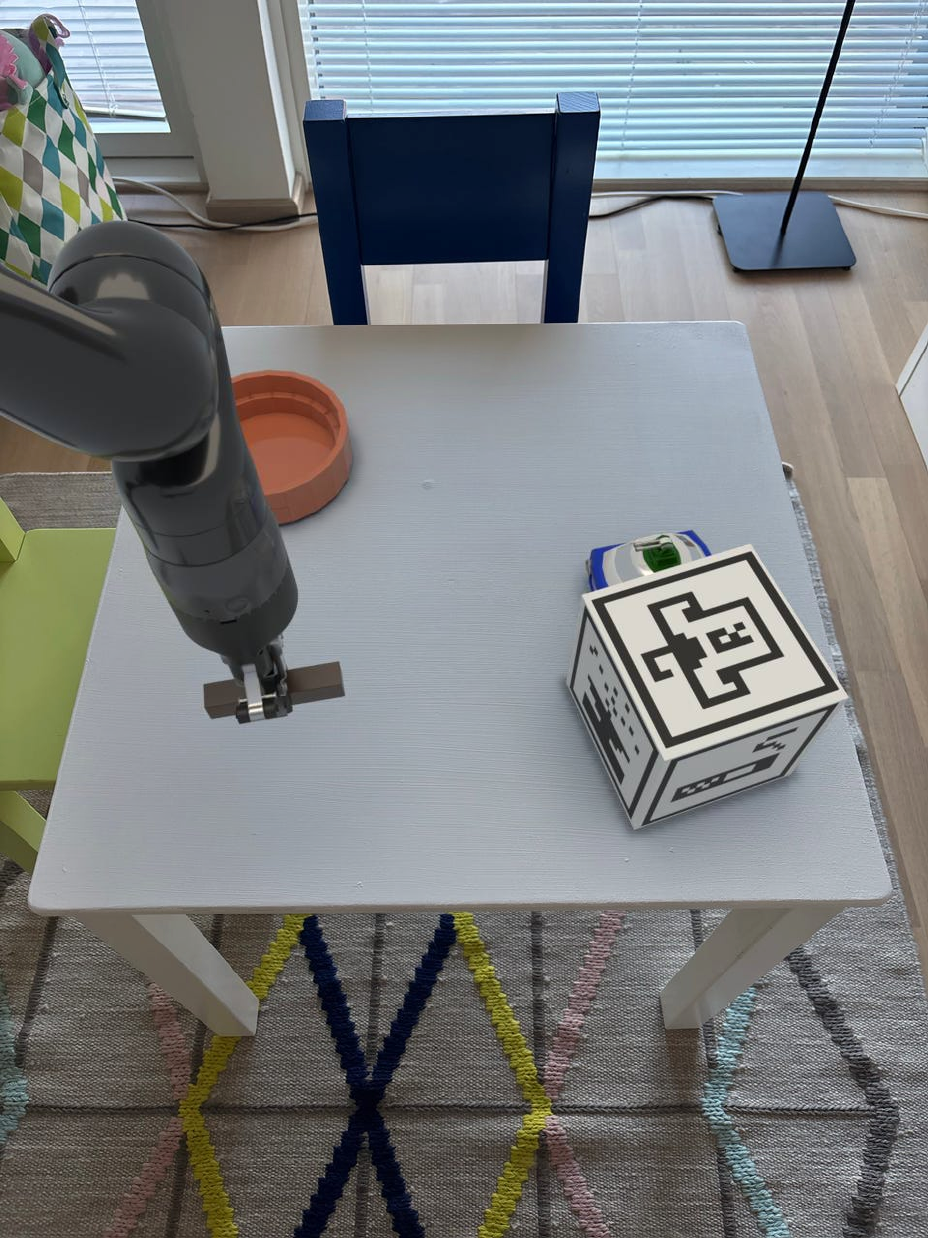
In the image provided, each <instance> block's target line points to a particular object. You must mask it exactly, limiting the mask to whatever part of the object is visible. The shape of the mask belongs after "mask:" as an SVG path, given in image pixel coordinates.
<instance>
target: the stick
mask: <svg viewBox="0 0 928 1238" xmlns="http://www.w3.org/2000/svg"><path fill="white" fill-rule="evenodd" d="M341 667H342V666H341V663H340V661H339V660H338V661H330V662H325V663H320V664H319V663H318V664H314V665H313V664H312V665H308V666H302V667H297V668H291V669H288V670H286V673H287V677H286V678H285V679H284V681H285V683H287V688H288V693H289V696H290V699H291V701H292V706H297V705H298V706H299V705H302V704H304V705H305V704H309V703H315V702H320V701H321V702H322V701H326V700H332V699H338V698H343V697H346V689H345V684H344V675H343V672H342V668H341ZM202 686H203V707H204V709H205V712H206V713H207V715H208V717H209V719H210V720H216V719H221V718H227V717H233V716H235V711H236V706H237V705H239V703H238V698H240V697H246V691H245V687H240V686H238V685H236V682H235V680H234V678H231V679H225V680H219V681H213V682H207V683H203V684H202Z"/></svg>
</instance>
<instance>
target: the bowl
mask: <svg viewBox="0 0 928 1238" xmlns="http://www.w3.org/2000/svg"><path fill="white" fill-rule="evenodd" d="M231 380H232V385H233V391H234V397H235V403H236V409H237V414H238V417H239V421H240V424H241V427H242V431H243V434H244V437H245V440H246V442H247V445H248V447H249V449H250V451H251V454H252V457H253V459H254V462H255V465H256V469H257V472H258V475H259V478H260V482H261V485H262V488H263V491H264V495H265V497H266V500H267V502H268V503H269V505H270V507H271V509H272V511H273V513H274V515H275V517H276V519H277V522H278V525H283V524H286V523H287V524H288V523H292V522H296V521H298V520H299V519H302V518H305V517H306V516H307V517H308V516H309V515H311V514H313V513H316V512H318V511H319V510H321V509H322V508H323V507H324V506H326V505H327V504H329V502H330V501H332V500H333V499H335V497H337V496H338V494H339V493H340V491H341V489H342V488H343V486H344V485H345V484H346V483H347V481H348V479H349V477H350V473H351V469H352V464H353V461H354V453H353V447H352V441H351V436H350V431H349V424H348V420H347V419H348V418H347V413H346V408H345V406H344V404H343V403H342V402H341V400H340V399H339V397H338V396H337V394H336V393H335V392H334V390H332V389H331V388H330V387H328V386H326V384H324V383H322V382H321V381H320V380H318V379H317V378H314V377H311V376H308V375H305V374H302V373H299V372H297V371H292V370H291V371H289V370H278V369H277V370H276V369H264V370H259V371H252V372H245V373H241V374H237V375H235V376H233V377H231Z"/></svg>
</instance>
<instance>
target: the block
mask: <svg viewBox="0 0 928 1238" xmlns="http://www.w3.org/2000/svg"><path fill="white" fill-rule="evenodd" d="M568 664H569V665H568V671H567V675H566V676H567V677H566V682H565V683H566V686H567V688H568V690H569V693H570V695H571V697H572V699H573V701H574V703H575V705H576V708H577V710H578V712H579V714H580V716H581V718H582V721H583V723H584V725H585V727H586V729H587V732H588V733H589V736H590V738H591V740H592V742H593V744H594V746H595V749H596V751H597V753H598V755H599V757H600V759H601V762H602V765H603V766H604V768H605V771H606V772H607V773H606V774H607V775H608V777H609V779H610V781H611V783H612V786H613V788H614V790H615V791H616V794H617V796H618V799H619V801H620V803H621V805H622V807H623V809H624V812H625V814H626V816H627V818H628V820H629V822H630V825H631V827H632V829H633V831H635V830H639V829H641V828H645V827H647V826H650V825H653V824H656V823H658V822H662V821H664V820H667V819H669V818H672V817H675V816H678V815H681V814H683V813H686V812H690V811H692V810H695V809H698V808H702V807H704V806H707V805H709V804H712V803H715V802H717V801H721V800H723V799H726V798H729V797H732V796H734V795H735V796H736V795H737V794H740V793H742V792H743V793H744V792H745V791H748V790H752V789H754V788H757V787H760V786H763V785H766V784H769V783H771V782H775V781H777V780H779V779H783V778H785V777H788V776H791V774H793V772H794V771H795V769H796V768H797V766H798V765H799V764H800V763H801V761H802V760H803V759H804V757H805V756H806V755H807V753H808V752H809V751H810V749H812V747H813V746H814V744H815V743H816V742H817V740H818V739H819V738H820V736H821V735H822V734H823V732H825V730H826V729H827V727H828V726H829V725H830V723H831V722H832V721H833V719H835V717H836V715H838V713H839V712H840V711H841V709H842V708H843V706H844V705H845V704H846V703H847V701H848V700H849V699H850V697H849V695H848V694H847V692H846V691H845V688H844V687H843V686H842V684H841V683H840V681H839V680H838V677H836V675H835V673H834V672H833V670H832V668H831V667H830V665H829V664H828V662H827V661H826V659H825V658H824V656H823V654H822V653H821V652H820V649H818V647H817V645H816V644H815V642H814V640H813V639H812V637H811V636H810V634H809V633H808V631H807V630H806V628H805V627H804V625H803V623H802V622H801V620H800V618H799V617H798V616H797V614H796V612H795V611H794V610H793V608H792V606H791V604H790V603H789V602H788V599H787V598H786V597H785V595H784V594H783V592H782V591H781V588H780V587H779V586H778V584H777V582H776V581H775V580H774V578H773V577H772V575H771V574H770V572H769V570H768V568H767V567H766V565H765V564H764V562H763V561H762V559H761V558H760V557H759V555H758V553H757V551H756V550H755V549H754V547H753V545H752V544H751V543H747V544H744V545H741V546H738V547H734V548H731V549H728V550H725V551H721V552H718V553H715V554H712V555H711V556H708V557H705V558H701V559H698V560H695V561H692V562H688V563H685V564H682V565H679V566H675V567H672V568H669V569H665V570H662V571H659V572H656V573H652V574H649V575H646V576H643V577H639V578H636V579H633V580H629V581H626V582H623V583H620V584H616V585H613V586H610V587H607V588H603V589H600V590H597V591H593V592H591V591H589V592H588V593H584V594H581V597H580V603H579V608H578V615H577V620H576V626H575V631H574V637H573V643H572V648H571V654H570V660H569V663H568Z"/></svg>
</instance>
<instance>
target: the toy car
mask: <svg viewBox="0 0 928 1238" xmlns="http://www.w3.org/2000/svg"><path fill="white" fill-rule="evenodd" d="M711 555H713V554H712V553H711V550H710V549H709V547H708V546H707V544H706V543H705V542H704V541H703V540H702V539H701V538H700V537H699V536H698V534H697V533H696V532H695V531H694V530H693V529H689V530H684V531H679V532H662V533H654V534H653V533H652V534H649V535H645V536H642V537H639V538H635V539H632V540H630V541H627V542H622V543H617V544H611V545H606V546H601V547H596V548H593V549H591V550H590V555H589V559H585V570H586V574H588V585H589V589H590V592H593V591H597V590H600V589H603V588H607V587H610V586H613V585H616V584H620V583H623V582H626V581H629V580H633V579H636V578H639V577H643V576H646V575H649V574H652V573H656V572H659V571H662V570H665V569H669V568H672V567H675V566H679V565H682V564H685V563H688V562H692V561H695V560H698V559H701V558H705V557H708V556H711Z"/></svg>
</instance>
